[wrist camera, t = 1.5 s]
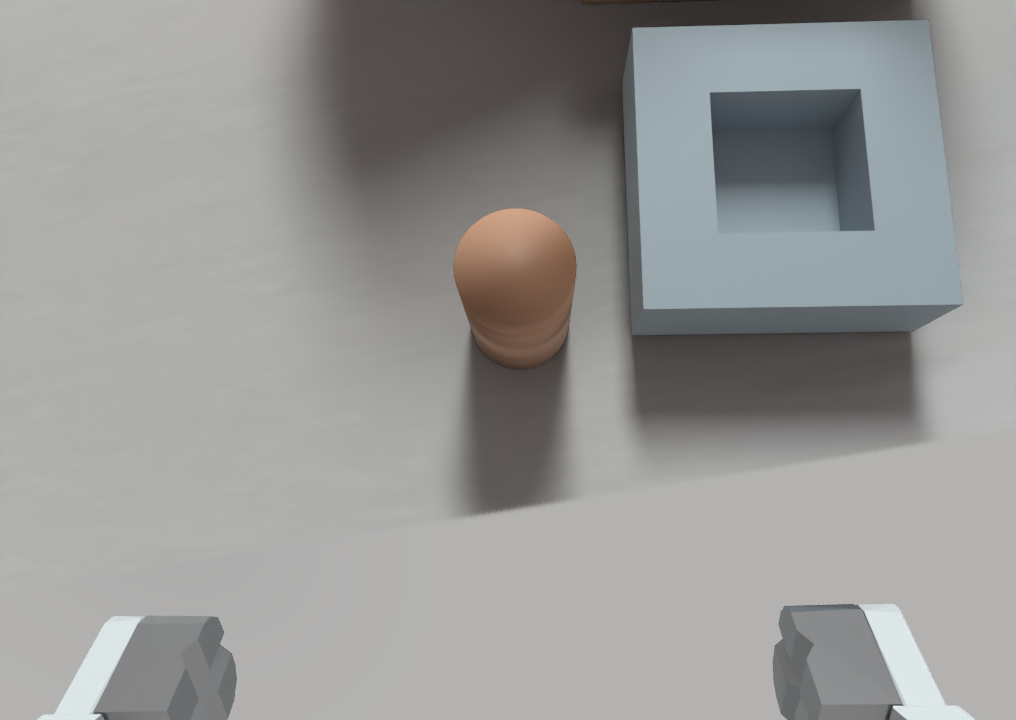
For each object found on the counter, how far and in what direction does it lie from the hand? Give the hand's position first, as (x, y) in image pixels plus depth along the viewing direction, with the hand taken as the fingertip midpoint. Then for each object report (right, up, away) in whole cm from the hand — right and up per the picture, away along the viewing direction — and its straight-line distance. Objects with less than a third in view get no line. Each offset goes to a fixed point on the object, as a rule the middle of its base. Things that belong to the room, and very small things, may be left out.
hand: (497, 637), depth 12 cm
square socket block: (+13, +12, +31) cm, 36 cm away
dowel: (+1, +6, +30) cm, 31 cm away
